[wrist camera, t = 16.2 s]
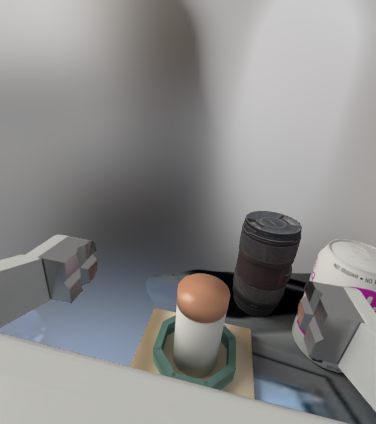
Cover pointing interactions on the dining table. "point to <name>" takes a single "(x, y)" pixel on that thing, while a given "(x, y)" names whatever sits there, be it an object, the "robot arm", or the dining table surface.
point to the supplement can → (342, 279)
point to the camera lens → (264, 261)
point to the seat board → (226, 361)
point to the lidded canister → (199, 323)
